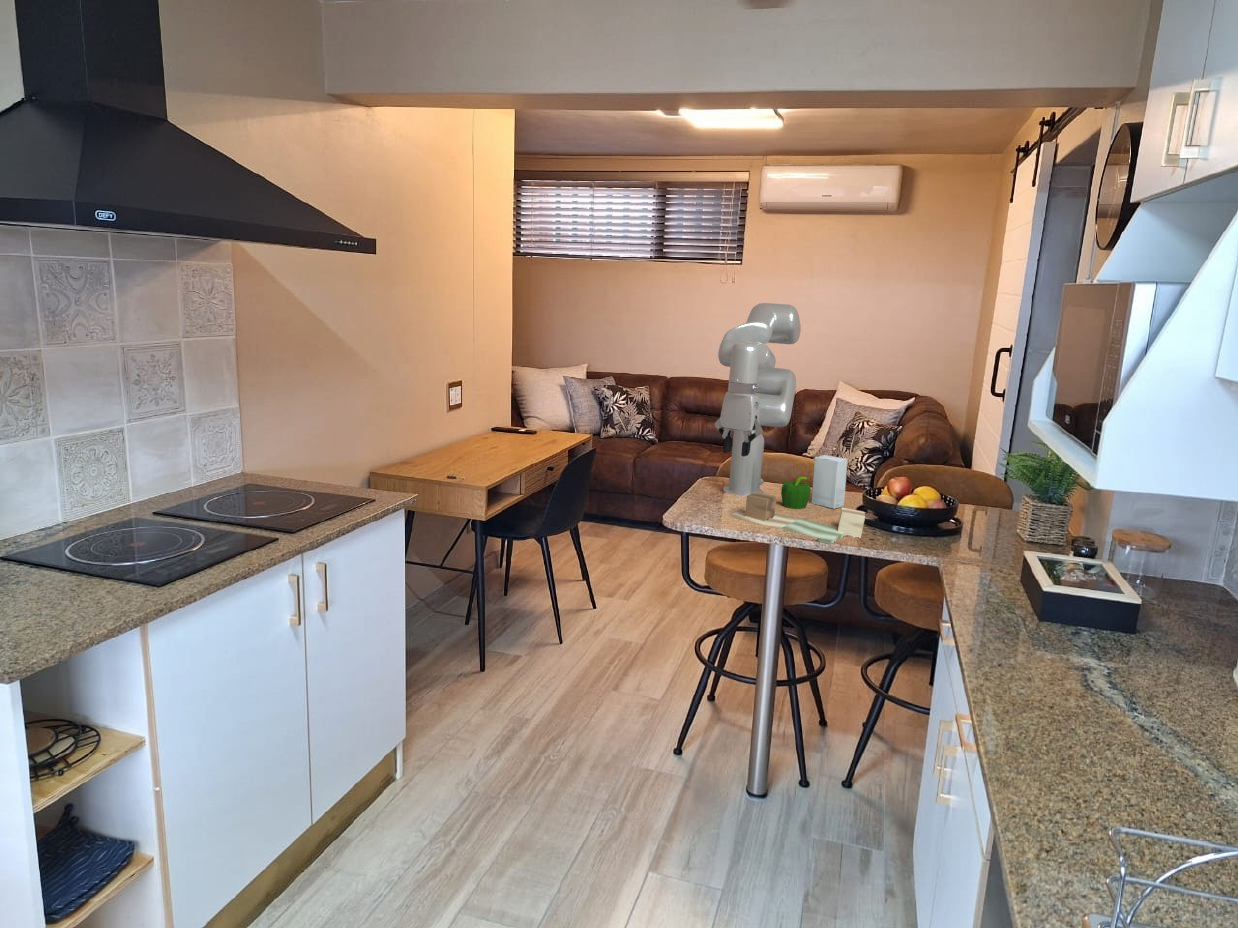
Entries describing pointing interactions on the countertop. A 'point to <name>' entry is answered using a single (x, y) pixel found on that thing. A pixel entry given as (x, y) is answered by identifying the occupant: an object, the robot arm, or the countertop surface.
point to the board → (797, 526)
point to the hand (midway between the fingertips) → (735, 453)
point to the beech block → (851, 522)
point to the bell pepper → (795, 494)
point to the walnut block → (760, 506)
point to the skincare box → (829, 481)
